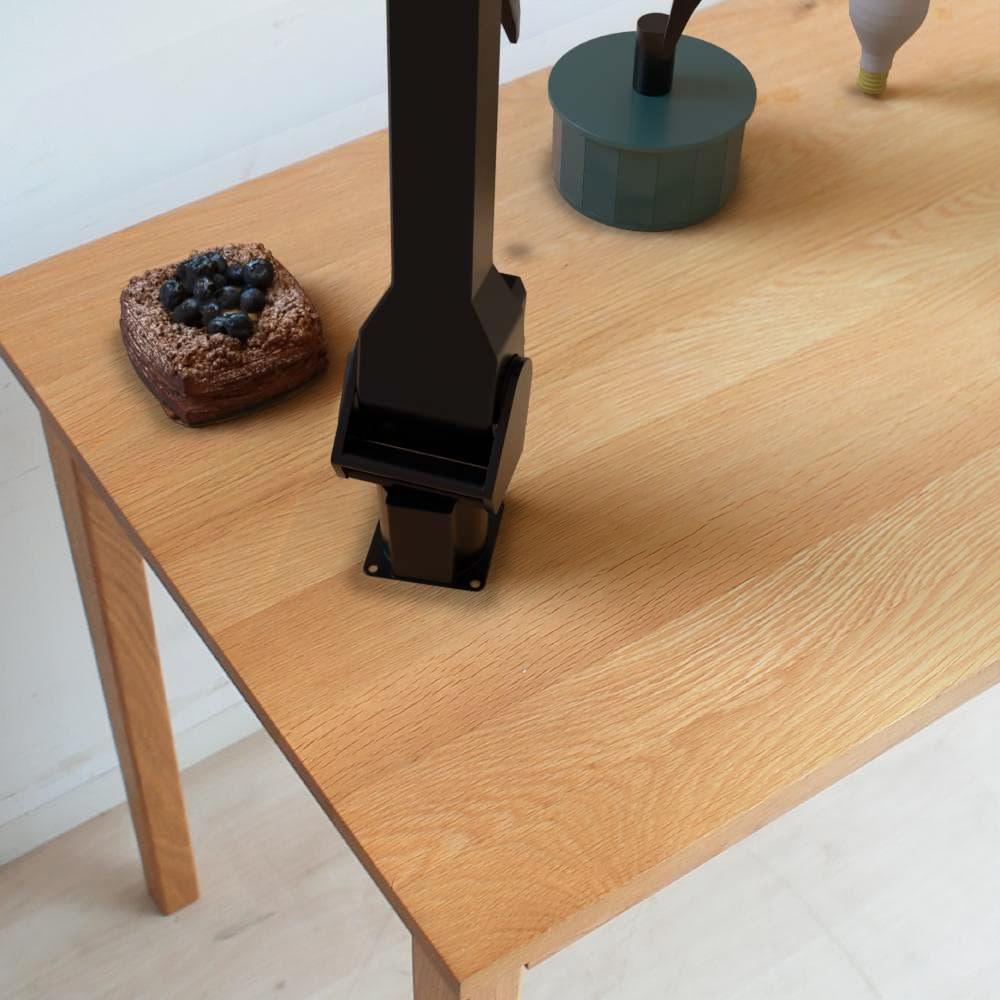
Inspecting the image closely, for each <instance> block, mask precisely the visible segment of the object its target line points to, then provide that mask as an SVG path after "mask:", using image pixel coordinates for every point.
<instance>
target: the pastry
mask: <svg viewBox="0 0 1000 1000" xmlns="http://www.w3.org/2000/svg"><path fill="white" fill-rule="evenodd" d="M128 281H129V284H126V285H125V286H124V287H123V288H122V289H121V291H120V296H119V304H120V318H119V320H118V323H119V327H120V334H121V340H122V342H123V345H124V347H125V350H126V353H127V357H128V359H129V362H130V363H131V365H132V367H133V369H134V371H135V372H136V375H137V376H138V378H139V379H140V381H141V382H142V384H143V385H144V386H145V387H146V389H147V390H148V392H150V393H151V395H152V396H154V398H155V399H156V400H157V401H158V403H159V404H160V406H161V408H162V410H163V411H164V413H165V416H166V417H167V418H168V419H170V420H172V421H174V422H176V423H178V424H180V425H183V426H186V427H202V426H206V425H212V424H216V423H222V422H225V421H230V420H235V419H238V418H241V417H245V416H249V415H251V414H254V413H256V412H260V411H263V410H265V409H269V408H271V407H274V406H276V405H279V404H281V403H283V402H285V401H289V400H291V399H292V398H294V397H296V396H298V395H299V394H301V393H302V392H304V391H306V390H307V389H309V388H310V387H312V385H314V384H315V383H316V382H318V381H319V380H320V379H321V378H323V377H324V376H325V375H327V373H328V370H329V365H330V364H331V360H330V359H329V356H328V355H329V354H328V350H327V346H328V342H327V340H326V337H325V334H324V327H323V322H322V317H321V316H320V313H319V312H318V310H317V308H316V305H315V304H314V302H313V301H312V299H311V298H310V296H309V295H308V293H307V292H306V290H305V289H304V288H303V286H302V285H301V284H300V283H299V281H298V280H297V279H296V278H295V277H294V275H292V273H291V272H290V271H289V270H288V269H287V267H286V266H284V265H283V263H281V261H279V260H278V259H277V258H276V257H274V255H273V253H272V250H270V249H267V248H265V245H264V243H261V242H250V243H236V244H234V243H232V242H230V243H227V244H226V245H225V244H221V246H218V245H214V246H213V247H211V248H209V247H207V248H205V249H203V250H201V251H199V250H197V249H195V248H193V249H191V251H190V253H189V254H188V257H187V258H183V259H182V260H180V261H176V262H172V263H170V264H168V265H164V266H163V267H158V268H152V269H146V270H145V271H144V272H143V275H142V276H138V275H134V276H132V277H131V278H130V279H129V280H128Z"/></svg>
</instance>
